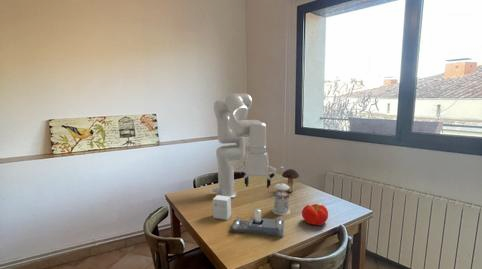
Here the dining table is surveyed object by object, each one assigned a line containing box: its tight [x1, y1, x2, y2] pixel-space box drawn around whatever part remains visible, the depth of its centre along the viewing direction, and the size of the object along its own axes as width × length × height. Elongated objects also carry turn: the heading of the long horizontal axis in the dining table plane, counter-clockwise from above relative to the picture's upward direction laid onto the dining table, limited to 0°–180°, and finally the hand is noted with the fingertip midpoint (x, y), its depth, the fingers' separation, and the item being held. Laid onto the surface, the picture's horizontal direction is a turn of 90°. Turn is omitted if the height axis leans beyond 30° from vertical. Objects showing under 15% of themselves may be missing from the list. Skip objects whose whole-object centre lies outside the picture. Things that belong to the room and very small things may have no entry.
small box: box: [212, 195, 232, 221], centre depth 139 cm, size 8×6×10 cm
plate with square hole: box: [230, 216, 285, 238], centre depth 126 cm, size 24×9×5 cm, turn 79°
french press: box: [271, 166, 291, 216], centre depth 145 cm, size 10×12×25 cm
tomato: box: [301, 203, 329, 226], centre depth 132 cm, size 13×12×8 cm
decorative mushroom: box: [281, 168, 300, 193], centre depth 172 cm, size 11×11×15 cm
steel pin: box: [253, 208, 262, 225], centre depth 126 cm, size 3×3×10 cm
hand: (257, 186), depth 123 cm, fingers open, 9 cm apart
